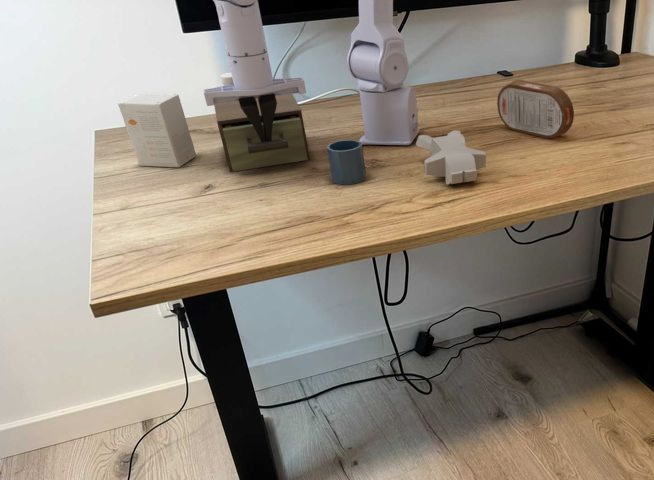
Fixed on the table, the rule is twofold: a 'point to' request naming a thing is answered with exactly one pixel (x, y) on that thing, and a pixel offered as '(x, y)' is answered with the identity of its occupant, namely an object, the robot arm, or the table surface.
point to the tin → (535, 108)
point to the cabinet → (234, 114)
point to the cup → (346, 162)
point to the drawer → (265, 144)
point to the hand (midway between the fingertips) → (267, 146)
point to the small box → (157, 130)
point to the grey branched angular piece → (451, 158)
